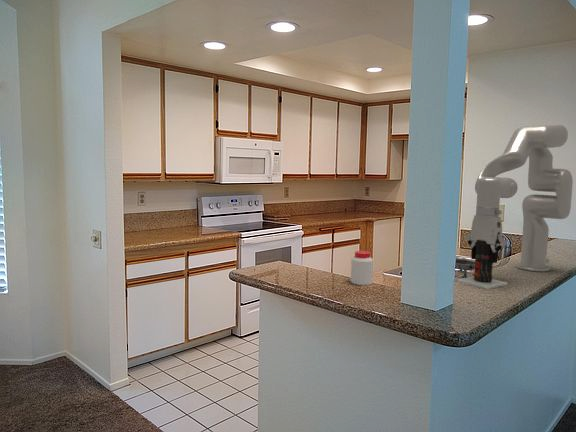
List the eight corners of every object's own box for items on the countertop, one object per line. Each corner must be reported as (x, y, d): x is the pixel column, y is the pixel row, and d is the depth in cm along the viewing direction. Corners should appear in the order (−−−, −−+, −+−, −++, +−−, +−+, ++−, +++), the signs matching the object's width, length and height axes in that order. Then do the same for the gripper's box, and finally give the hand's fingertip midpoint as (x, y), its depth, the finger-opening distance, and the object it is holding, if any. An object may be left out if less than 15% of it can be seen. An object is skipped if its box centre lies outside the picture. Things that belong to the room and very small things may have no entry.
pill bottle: (359, 278, 165) (360, 249, 164) (376, 282, 160) (377, 252, 158) (346, 281, 160) (347, 252, 158) (363, 286, 154) (365, 255, 153)
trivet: (477, 277, 170) (478, 275, 170) (507, 284, 160) (507, 282, 160) (457, 281, 163) (458, 279, 163) (487, 289, 153) (487, 286, 153)
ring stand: (459, 270, 182) (460, 258, 181) (483, 276, 173) (484, 263, 172) (442, 273, 176) (443, 260, 175) (466, 279, 167) (466, 266, 166)
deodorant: (493, 283, 158) (496, 241, 157) (475, 282, 159) (478, 241, 158) (489, 279, 164) (492, 239, 162) (472, 278, 165) (474, 238, 164)
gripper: (516, 214, 153) (512, 264, 155) (472, 209, 168) (469, 255, 170) (503, 215, 149) (500, 266, 151) (459, 210, 164) (457, 257, 166)
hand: (484, 260), depth 161 cm, fingers open, 7 cm apart
